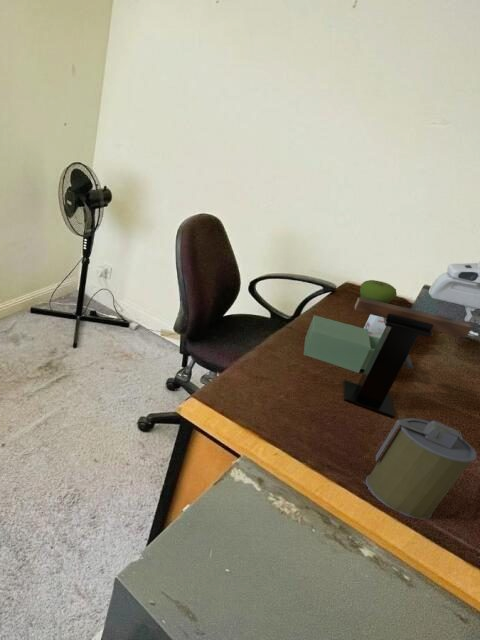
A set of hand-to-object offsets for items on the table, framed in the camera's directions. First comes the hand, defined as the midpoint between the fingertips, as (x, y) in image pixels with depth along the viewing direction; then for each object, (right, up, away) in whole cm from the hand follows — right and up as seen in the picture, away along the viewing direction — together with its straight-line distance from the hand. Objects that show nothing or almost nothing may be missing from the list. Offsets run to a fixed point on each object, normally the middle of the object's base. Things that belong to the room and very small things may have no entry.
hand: (472, 322), depth 110 cm
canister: (-45, -34, -23) cm, 61 cm away
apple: (+26, -1, +54) cm, 60 cm away
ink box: (+1, -13, +27) cm, 30 cm away
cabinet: (-19, -14, +23) cm, 33 cm away
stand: (-25, -23, +4) cm, 34 cm away
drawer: (-12, -16, +17) cm, 26 cm away
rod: (-25, +1, -6) cm, 26 cm away
